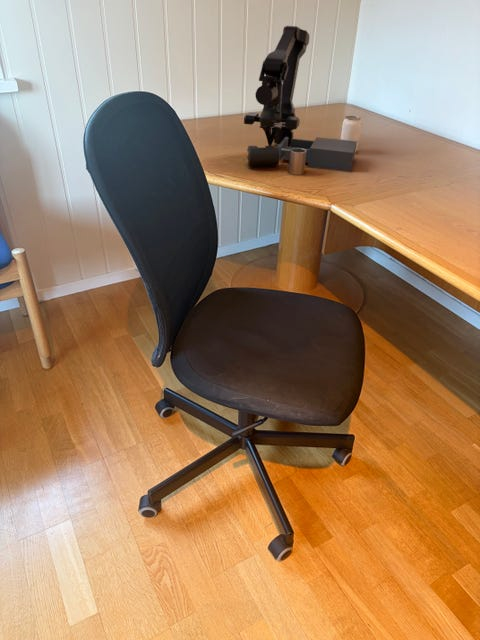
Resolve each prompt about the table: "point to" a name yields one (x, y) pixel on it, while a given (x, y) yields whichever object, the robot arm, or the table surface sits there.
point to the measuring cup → (296, 160)
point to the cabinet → (332, 154)
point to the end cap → (263, 157)
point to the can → (351, 129)
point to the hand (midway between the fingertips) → (270, 145)
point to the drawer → (294, 144)
